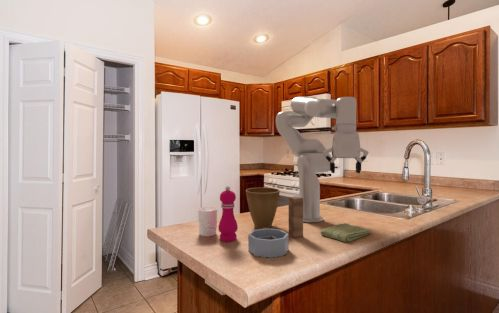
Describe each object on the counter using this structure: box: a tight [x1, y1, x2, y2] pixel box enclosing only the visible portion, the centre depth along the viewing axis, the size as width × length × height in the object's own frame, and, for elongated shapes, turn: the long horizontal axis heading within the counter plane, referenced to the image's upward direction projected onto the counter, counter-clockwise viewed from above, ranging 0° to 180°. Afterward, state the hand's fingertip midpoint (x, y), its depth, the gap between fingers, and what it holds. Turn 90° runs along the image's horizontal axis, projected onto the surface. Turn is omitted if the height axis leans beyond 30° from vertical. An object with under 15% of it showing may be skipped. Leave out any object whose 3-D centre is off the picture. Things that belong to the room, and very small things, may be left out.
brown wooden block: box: [288, 195, 304, 239], centre depth 110 cm, size 4×4×15 cm
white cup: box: [197, 206, 218, 237], centre depth 113 cm, size 8×8×10 cm
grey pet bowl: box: [247, 228, 290, 259], centre depth 94 cm, size 12×12×6 cm
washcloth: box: [320, 222, 372, 244], centre depth 111 cm, size 13×18×3 cm
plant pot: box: [245, 186, 281, 229], centre depth 124 cm, size 15×15×16 cm
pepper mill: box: [218, 185, 239, 243], centre depth 106 cm, size 7×7×20 cm
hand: (345, 172), depth 111 cm, fingers open, 9 cm apart
